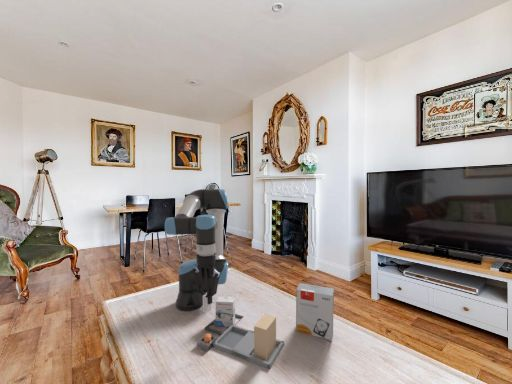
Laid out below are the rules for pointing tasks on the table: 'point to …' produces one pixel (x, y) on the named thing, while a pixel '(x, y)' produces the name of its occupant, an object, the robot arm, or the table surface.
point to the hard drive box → (315, 310)
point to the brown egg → (207, 338)
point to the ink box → (225, 311)
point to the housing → (205, 345)
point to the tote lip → (216, 330)
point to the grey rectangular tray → (244, 345)
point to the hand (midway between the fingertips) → (207, 310)
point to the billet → (265, 337)
